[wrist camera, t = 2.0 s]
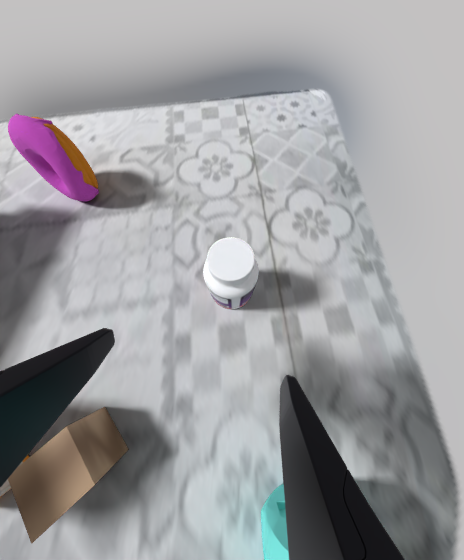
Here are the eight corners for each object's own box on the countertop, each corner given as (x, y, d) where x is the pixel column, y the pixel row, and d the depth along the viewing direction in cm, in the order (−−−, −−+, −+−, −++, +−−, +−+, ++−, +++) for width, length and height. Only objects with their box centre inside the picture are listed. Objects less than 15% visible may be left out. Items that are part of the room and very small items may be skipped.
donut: (63, 221, 28) (-26, 158, 18) (56, 177, 30) (-24, 102, 21) (115, 204, 29) (57, 137, 19) (104, 163, 31) (48, 86, 22)
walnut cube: (129, 449, 19) (94, 484, 14) (84, 490, 18) (31, 543, 13) (105, 406, 20) (66, 426, 15) (62, 442, 19) (6, 476, 14)
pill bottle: (246, 266, 25) (254, 224, 16) (256, 304, 24) (272, 281, 14) (207, 275, 25) (192, 236, 16) (215, 314, 23) (204, 296, 14)
